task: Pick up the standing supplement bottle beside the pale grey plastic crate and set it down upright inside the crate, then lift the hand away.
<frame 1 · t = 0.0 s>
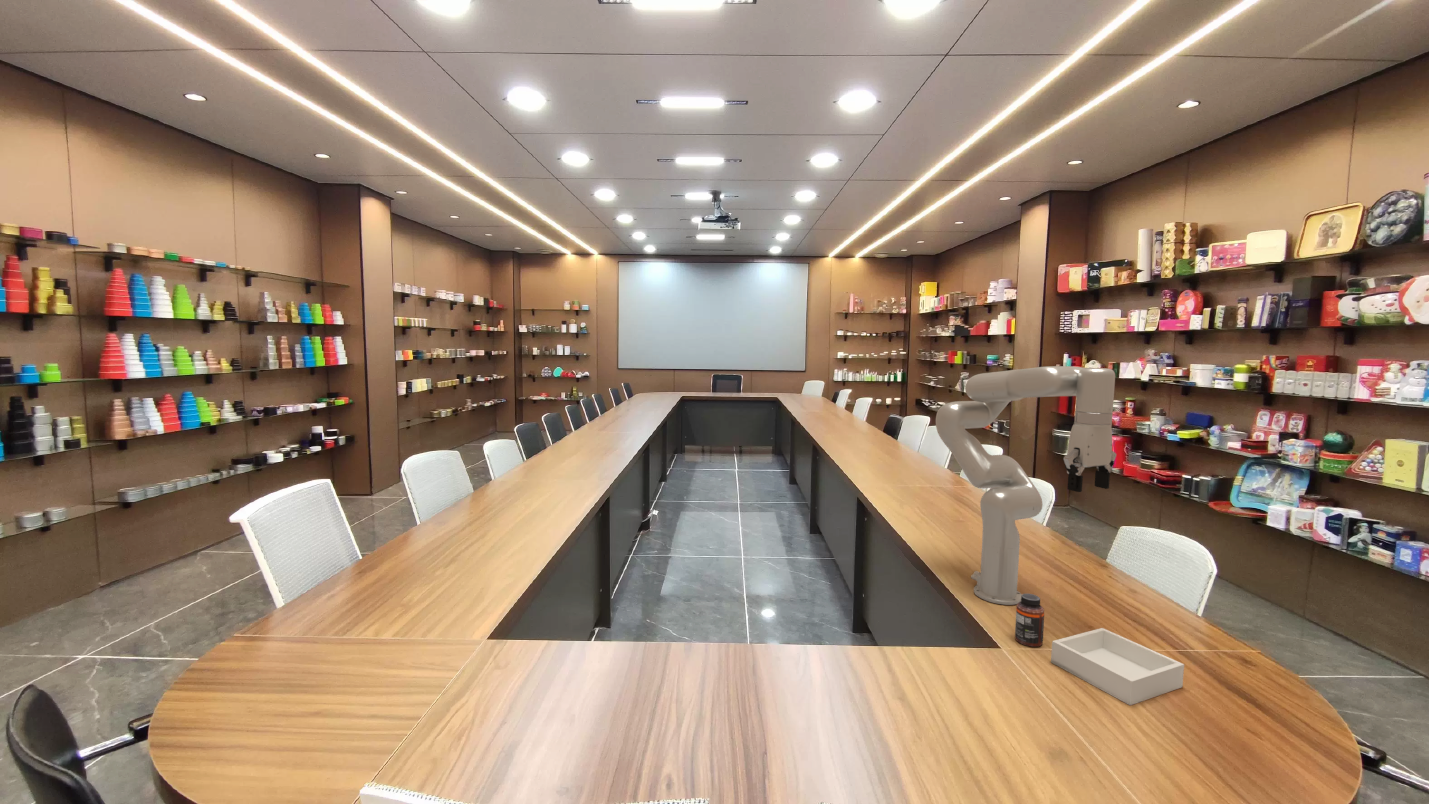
hand: (1088, 489, 139), 37 cm above the table, tool pointing down, fingers open, 9 cm apart
crate: (1114, 674, 124), on the table
supplement bottle: (1028, 642, 138), on the table
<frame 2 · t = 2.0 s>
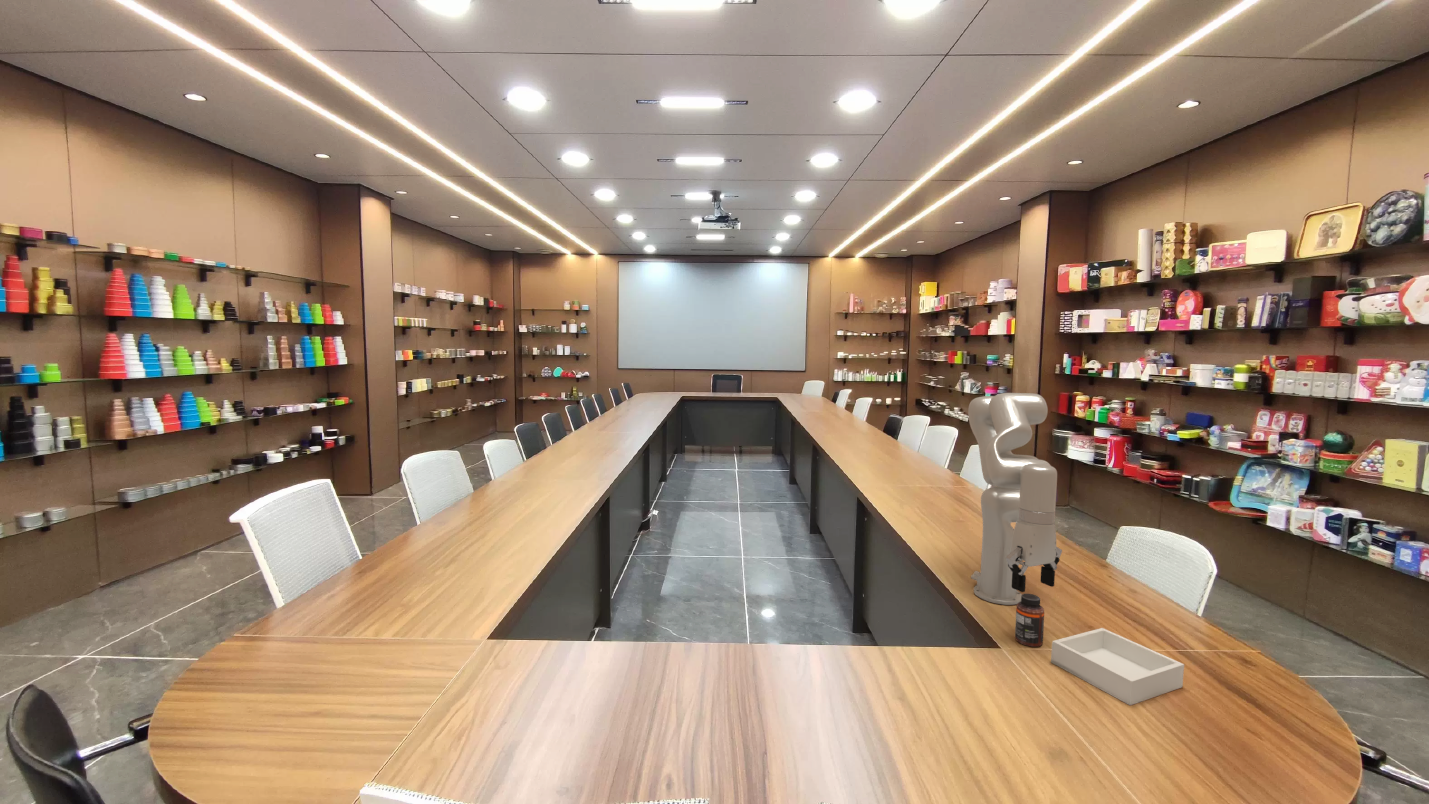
hand: (1032, 587, 136), 14 cm above the table, tool pointing down, fingers open, 9 cm apart
nothing on the table moved.
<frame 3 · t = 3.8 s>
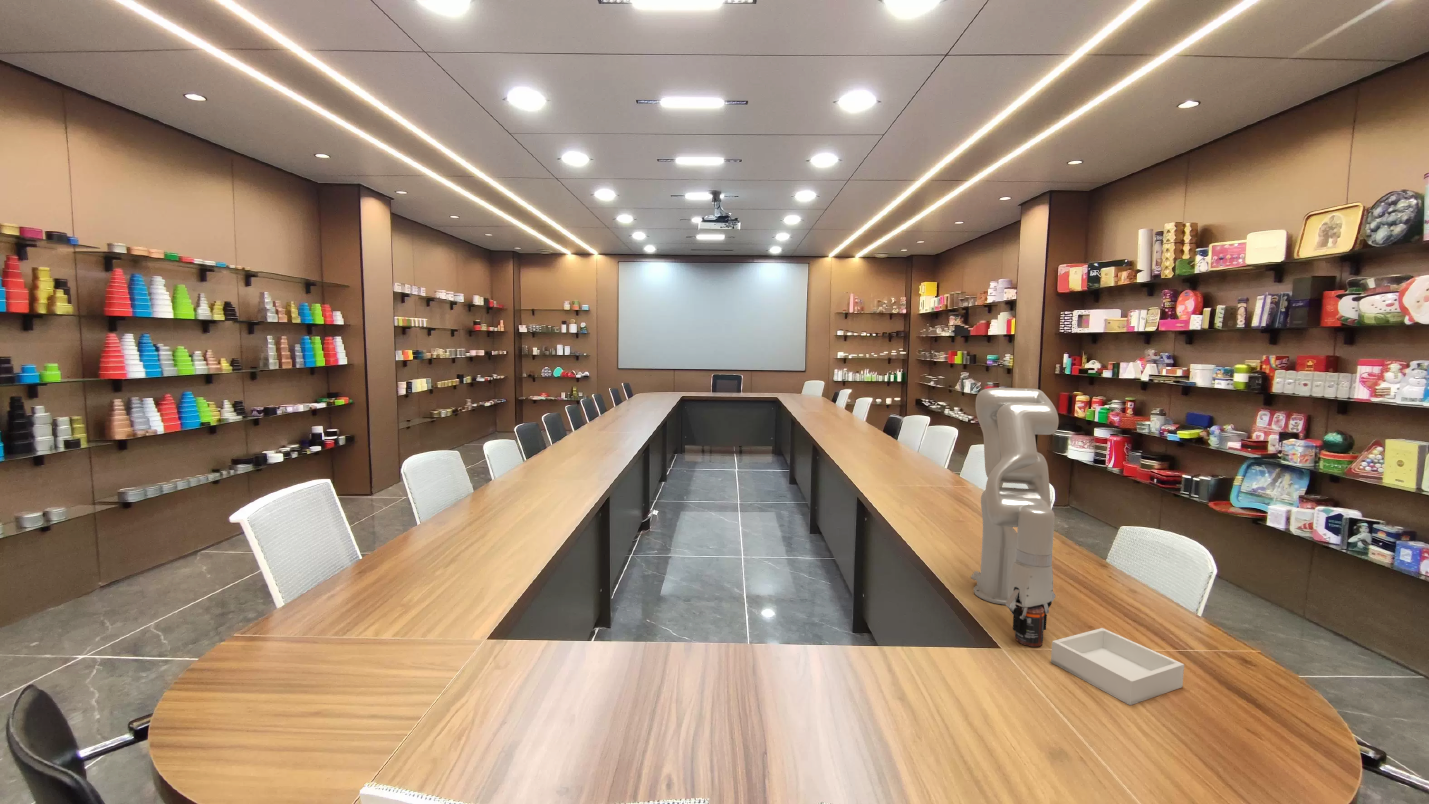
hand: (1029, 629, 138), 3 cm above the table, tool pointing down, fingers closed on supplement bottle, 6 cm apart
supplement bottle: (1028, 642, 138), on the table, touching gripper
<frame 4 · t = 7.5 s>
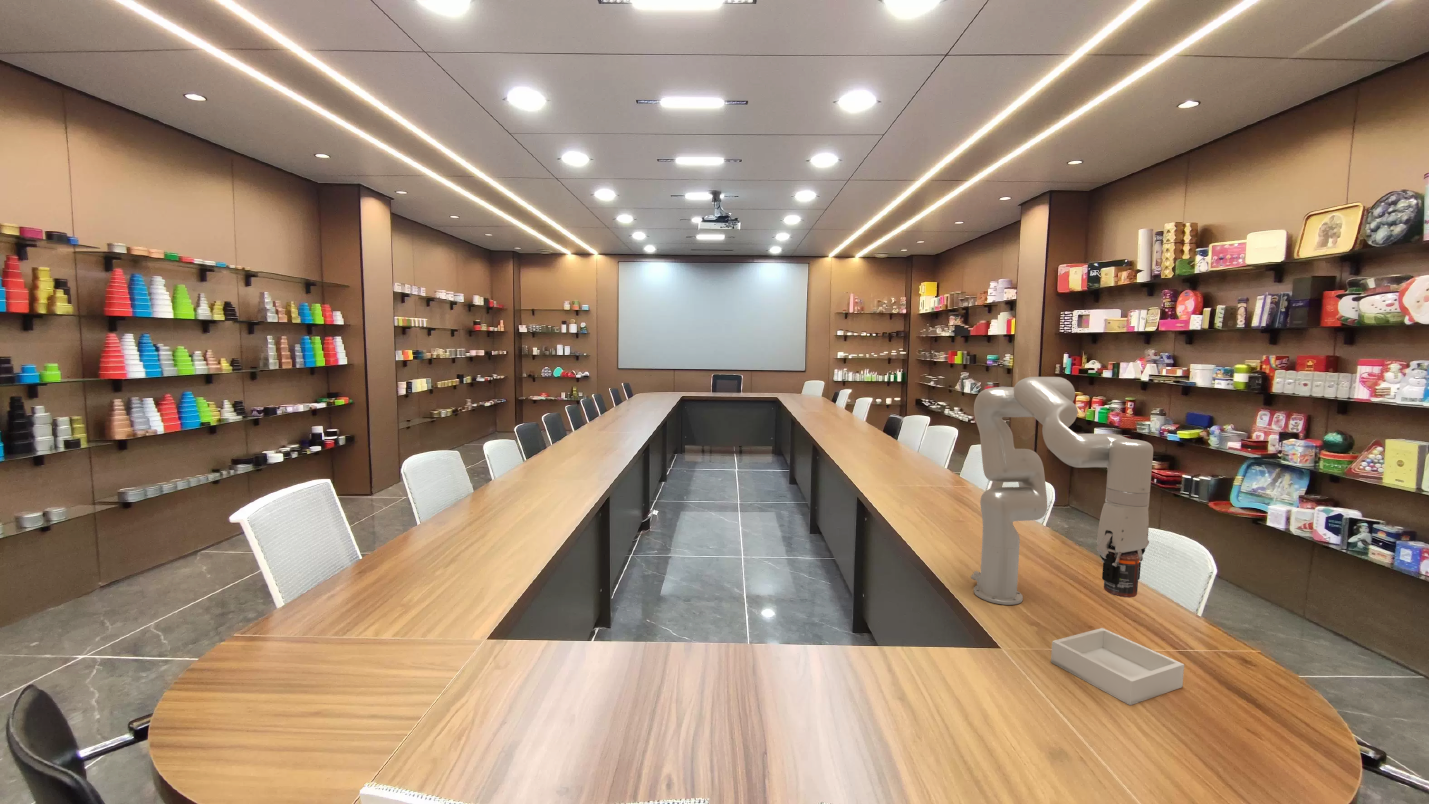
hand: (1120, 579, 123), 21 cm above the table, tool pointing down, fingers closed on supplement bottle, 6 cm apart
supplement bottle: (1119, 593, 123), point 18 cm above the table, touching gripper
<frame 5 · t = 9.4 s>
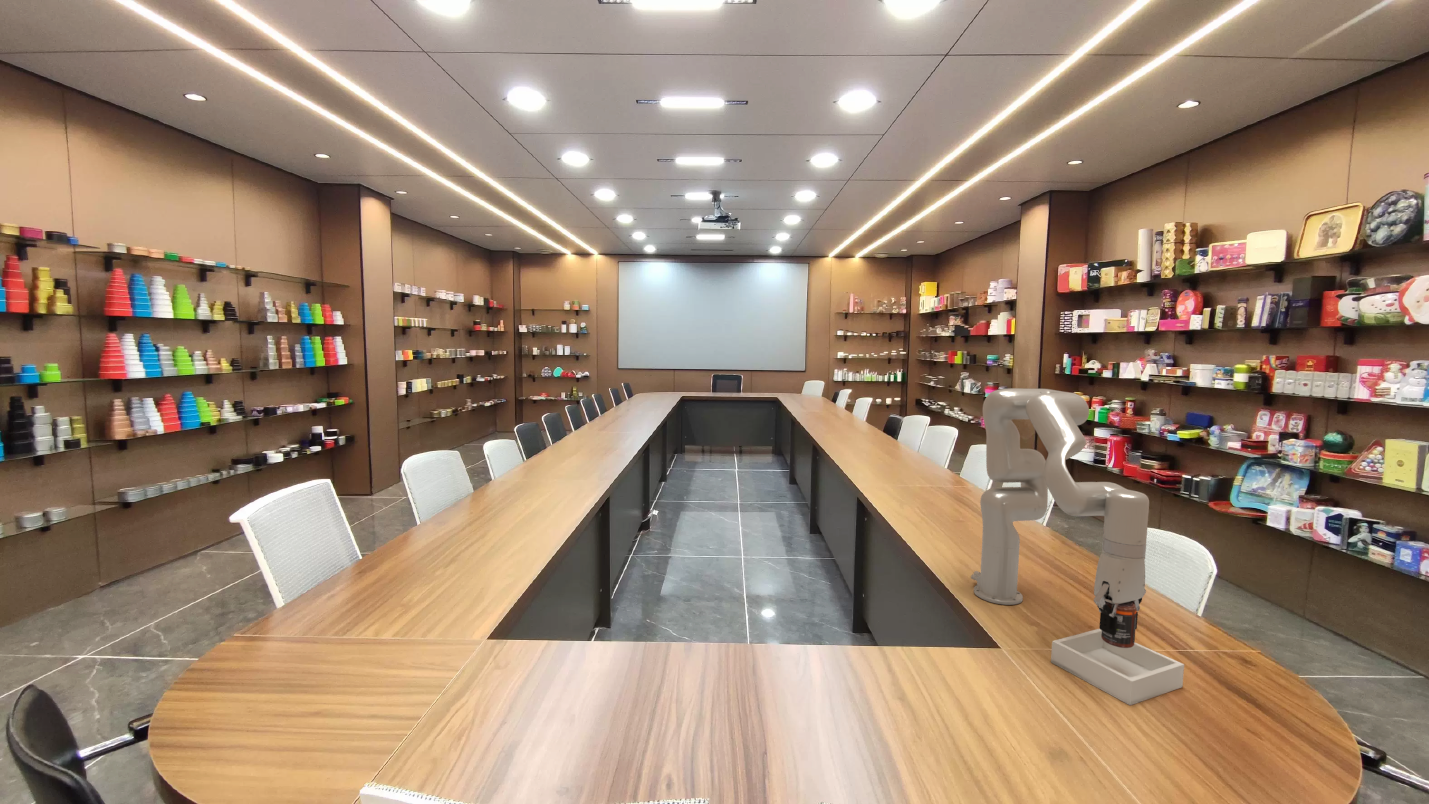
hand: (1118, 628, 123), 10 cm above the table, tool pointing down, fingers closed on supplement bottle, 6 cm apart
supplement bottle: (1117, 643, 123), point 7 cm above the table, touching gripper
when the fingers open (6 cm above the table, at t = 11.2 s): supplement bottle drops 2 cm, resting on crate.
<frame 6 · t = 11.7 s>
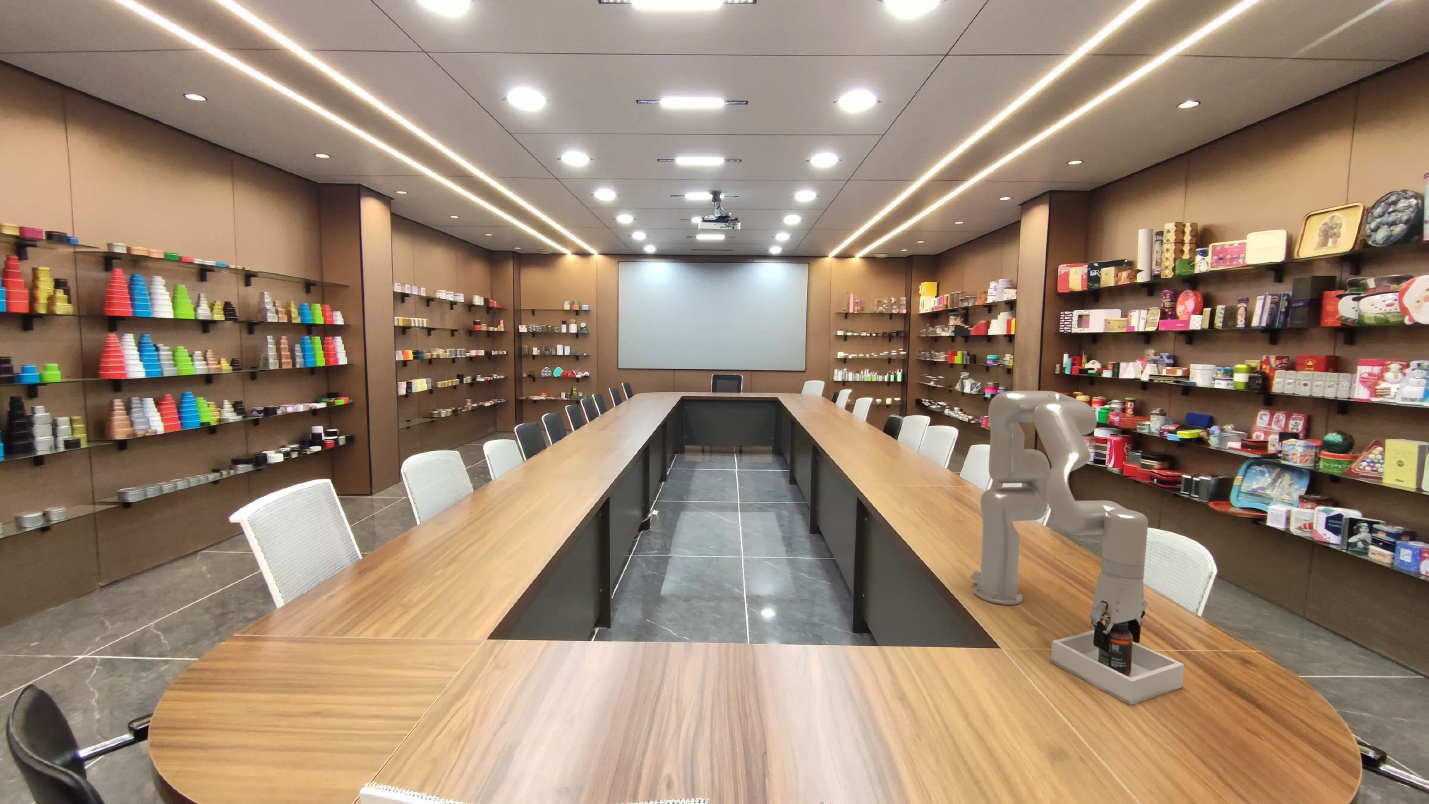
hand: (1116, 644, 124), 7 cm above the table, tool pointing down, fingers open, 9 cm apart
supplement bottle: (1113, 671, 124), point 1 cm above the table, touching crate
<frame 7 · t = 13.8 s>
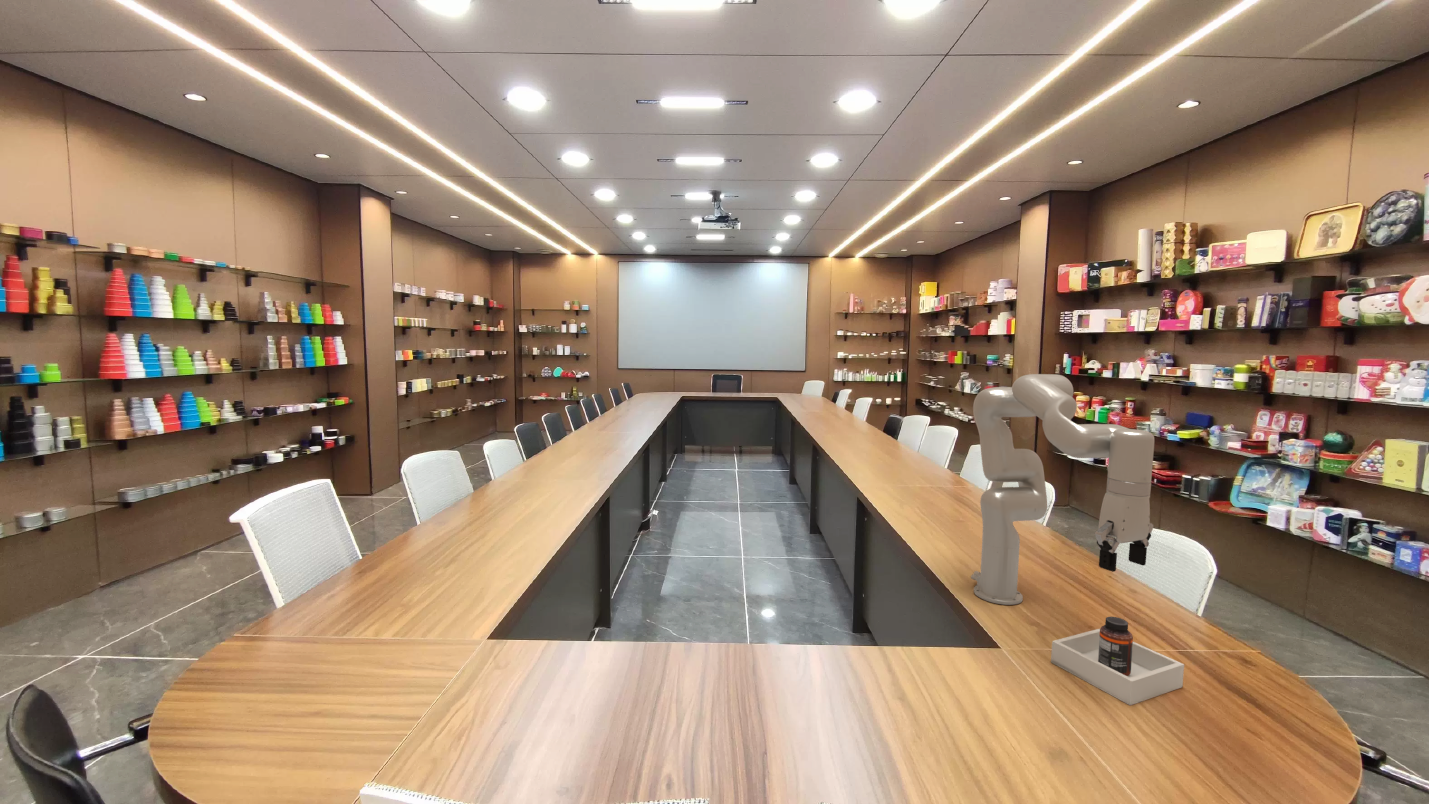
hand: (1122, 566, 122), 24 cm above the table, tool pointing down, fingers open, 9 cm apart
nothing on the table moved.
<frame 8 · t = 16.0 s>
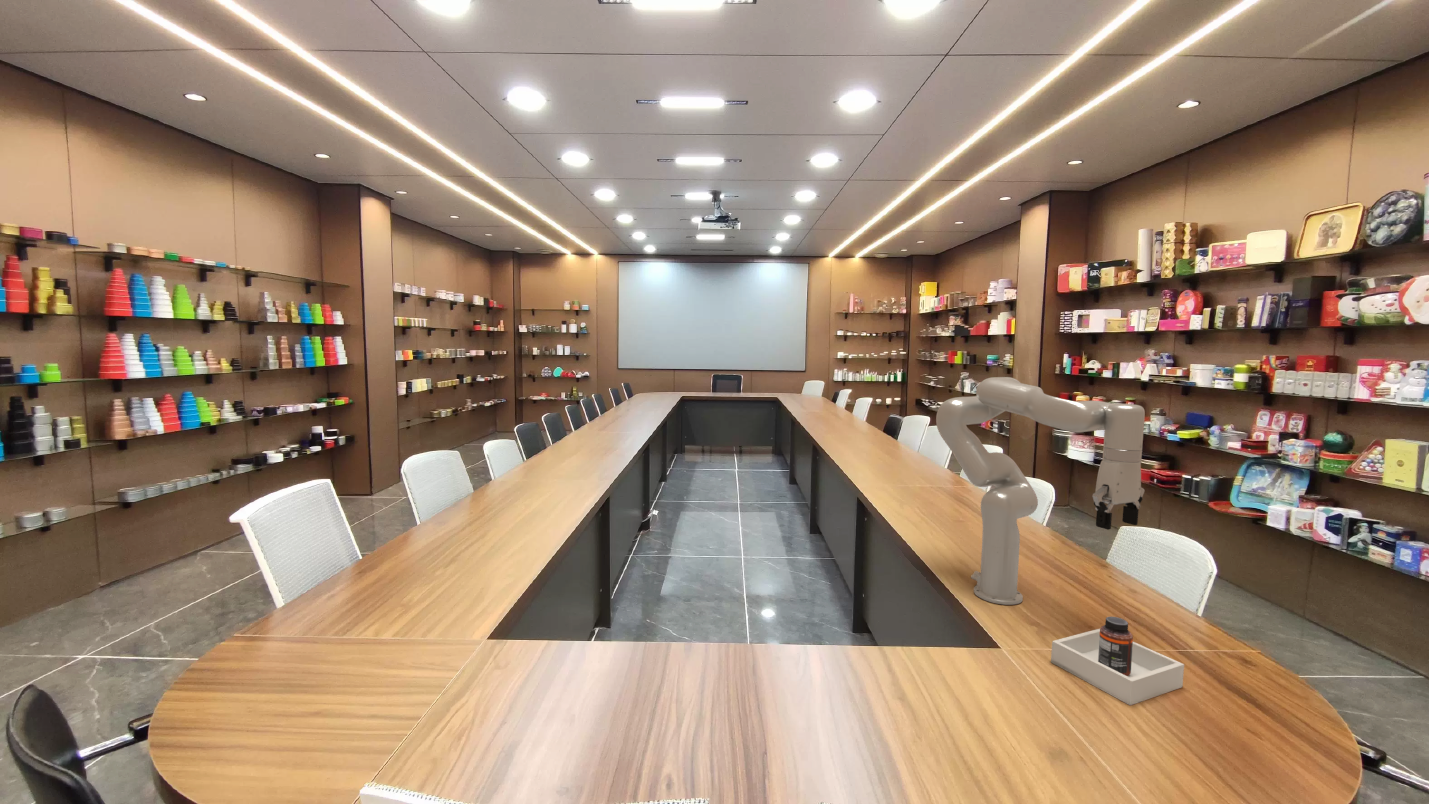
hand: (1116, 525, 138), 28 cm above the table, tool pointing down, fingers open, 9 cm apart
nothing on the table moved.
at the end: supplement bottle inside the target area on the crate (0.2 cm from its centre), point 0.6 cm above the crate's base; supplement bottle tilted 0°; the gripper is holding nothing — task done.
